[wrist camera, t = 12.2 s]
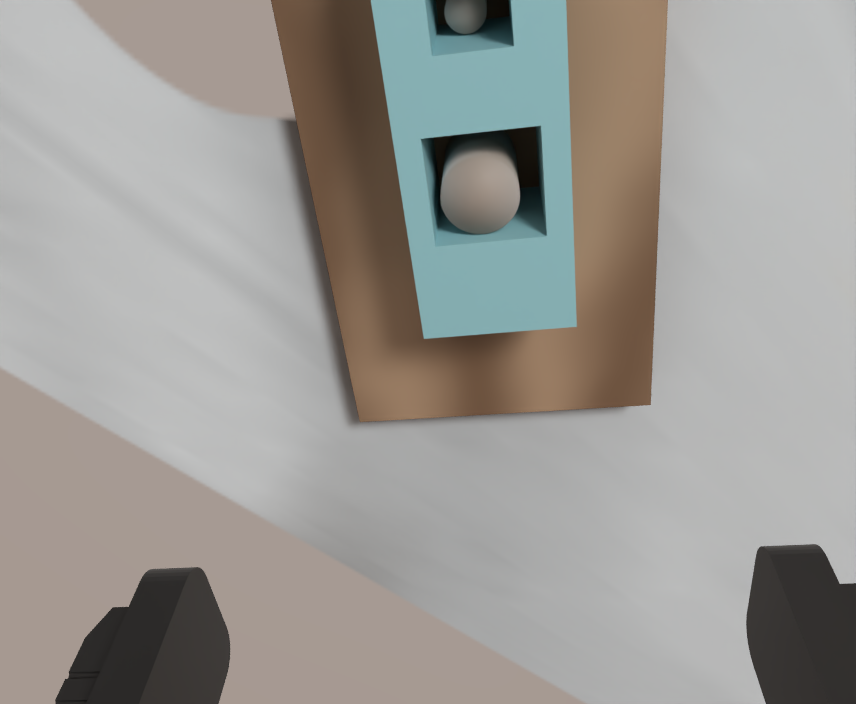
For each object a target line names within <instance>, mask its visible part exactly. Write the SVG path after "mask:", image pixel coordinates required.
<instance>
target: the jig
mask: <svg viewBox="0 0 856 704" xmlns="http://www.w3.org/2000/svg"><path fill="white" fill-rule="evenodd" d="M271 2H272V7H273V12H274V16H275V21H276V26H277V31H278V36H279V40H280V45H281V49H282V55H283V59H284V64H285V69H286V73H287V78H288V83H289V88H290V93H291V97H292V102H293V106H294V111H295V116H296V121H297V126H298V131H299V135H300V140H301V145H302V150H303V154H304V159H305V164H306V169H307V173H308V178H309V183H310V188H311V192H312V197H313V202H314V207H315V211H316V216H317V221H318V226H319V230H320V235H321V240H322V245H323V249H324V254H325V259H326V264H327V268H328V273H329V278H330V283H331V287H332V292H333V297H334V302H335V306H336V311H337V316H338V321H339V325H340V330H341V335H342V340H343V344H344V349H345V354H346V359H347V363H348V368H349V373H350V378H351V382H352V387H353V392H354V397H355V401H356V406H357V411H358V416H359V420H360V422H368V421H385V420H402V419H419V418H436V417H453V416H470V415H487V414H504V413H521V412H538V411H555V410H572V409H589V408H606V407H623V406H640V405H651V383H652V359H653V336H654V312H655V289H656V265H657V242H658V218H659V195H660V171H661V148H662V124H663V101H664V77H665V54H666V30H667V7H668V0H566V10H567V41H568V72H569V103H570V134H571V165H572V196H573V226H574V257H575V288H576V319H577V327H568V328H555V329H542V330H530V331H517V332H505V333H492V334H479V335H467V336H454V337H441V338H429V339H424V336H423V330H422V324H421V317H420V311H419V305H418V298H417V292H416V285H415V279H414V273H413V266H412V260H411V254H410V247H409V241H408V234H407V228H406V222H405V215H404V209H403V203H402V196H401V190H400V183H399V177H398V171H397V164H396V158H395V152H394V145H393V139H392V132H391V126H390V120H389V113H388V107H387V101H386V94H385V88H384V82H383V75H382V69H381V62H380V56H379V50H378V43H377V37H376V31H375V24H374V18H373V11H372V5H371V0H271ZM436 7H437V15H438V24H439V25H443V24H448V25H449V26H450V28H451V29H453V30H454V31H456V32H458V33H461V34H470V33H473V32H475V31H477V30H478V29H479V28H480V27H481V26H482V25H483V23H484V21H485V19H491V18H499V17H507V16H510V13H509V0H436ZM434 145H435V152H436V160H437V168H438V176H439V184H440V192H441V195H440V200H441V206H442V209H443V212H444V214H445V215H446V217H447V218H448V220H449V221H450V222H451V223H452V224H453V225H455V226H456V227H457V228H459V229H461V230H463V231H465V232H468V233H473V234H486V233H491V232H494V231H496V230H499V229H500V228H502V227H504V226H505V225H506V224H507V223H509V222H510V220H511V219H512V218H513V217H514V215H515V213H516V211H517V209H518V206H519V202H520V189H519V188H527V187H537V186H539V176H538V158H537V140H536V126H533V127H524V128H515V129H506V130H497V131H488V132H479V133H469V134H460V135H451V136H442V137H434Z"/></svg>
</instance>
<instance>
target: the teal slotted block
mask: <svg viewBox="0 0 856 704" xmlns="http://www.w3.org/2000/svg"><path fill="white" fill-rule="evenodd" d="M371 5H372V11H373V18H374V24H375V31H376V37H377V43H378V50H379V56H380V62H381V69H382V75H383V82H384V88H385V94H386V101H387V107H388V113H389V120H390V126H391V132H392V139H393V145H394V152H395V158H396V164H397V171H398V177H399V183H400V190H401V196H402V203H403V209H404V215H405V222H406V228H407V234H408V241H409V247H410V254H411V260H412V266H413V273H414V279H415V285H416V292H417V298H418V305H419V311H420V317H421V324H422V330H423V336H424V339H429V338H441V337H454V336H467V335H479V334H492V333H505V332H517V331H530V330H542V329H555V328H568V327H577V319H576V288H575V257H574V226H573V196H572V165H571V134H570V103H569V72H568V41H567V10H566V0H509V13H510V16H507V17H499V18H491V19H485V21H484V23H483V25H482V26H481V27H480V28H479V29H478V30H477V31H475V32H473V33H470V34H461V33H458V32H456V31H454V30H453V29H451V28H450V26H449V25H448V24H443V25H439V24H438V15H437V7H436V0H371ZM533 126H536V140H537V158H538V176H539V186H537V187H527V188H519V189H520V202H519V206H518V209H517V211H516V213H515V215H514V217H513V218H512V219H511V220H510V222H509V223H507V224H506V225H505V226H504V227H502V228H500V229H499V230H496V231H494V232H491V233H486V234H473V233H468V232H465V231H463V230H461V229H459V228H457V227H456V226H455V225H453V224H452V223H451V222H450V221H449V220H448V218H447V217H446V215H445V214H444V212H443V209H442V206H441V200H440V195H441V192H440V184H439V176H438V168H437V160H436V152H435V145H434V137H442V136H451V135H460V134H469V133H479V132H488V131H497V130H506V129H515V128H524V127H533Z"/></svg>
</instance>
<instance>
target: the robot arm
mask: <svg viewBox="0 0 856 704" xmlns="http://www.w3.org/2000/svg"><path fill="white" fill-rule="evenodd" d="M746 626H747V638H748V645H749V650H750V655H751V659H752V662H753V665H754V669H755V672H756V675H757V678H758V681H759V684H760V687H761V690H762V693H763V696H764V699H765V702H766V704H856V583H854V584H839V581H838V579H837V577H836V575H835V573H834V571H833V569H832V567H831V565H830V563H829V560H828V558H827V556H826V554H825V553H824V551H823V550H822V548H821V547H820V546H818V545H816V544H811V545H786V546H761V547H759V549H758V551H757V554H756V560H755V566H754V572H753V579H752V585H751V591H750V598H749V604H748V610H747V620H746ZM229 660H230V640H229V634H228V630H227V627H226V625H225V622H224V620H223V617H222V614H221V612H220V610H219V607H218V604H217V602H216V599H215V597H214V594H213V592H212V589H211V587H210V584H209V582H208V579H207V577H206V575H205V573H204V571H203V570H202V569H201V568H198V567H196V568H169V569H151V570H149V571H147V572H146V573H145V574H144V576H143V577H142V579H141V581H140V583H139V585H138V588H137V590H136V592H135V594H134V596H133V598H132V601H131V603H130V605H129V607H114V608H112V609H111V610H110V611H109V612H108V614H107V615H106V616H105V617H104V618H103V619H102V620H101V621H100V622H99V623H98V624H97V625H96V627H95V628H94V629H93V630H92V631H91V632H90V633H89V634H88V635H87V637H86V638H85V639H84V641H83V644H82V646H81V648H80V650H79V652H78V654H77V656H76V658H75V660H74V662H73V664H72V667H71V668H70V671H69V678H68V679H65V681H64V683H63V685H62V687H61V689H60V691H59V694H58V695H57V698H56V700H55V701H56V704H218V703H219V700H220V696H221V693H222V689H223V686H224V683H225V679H226V676H227V672H228V667H229Z"/></svg>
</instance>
